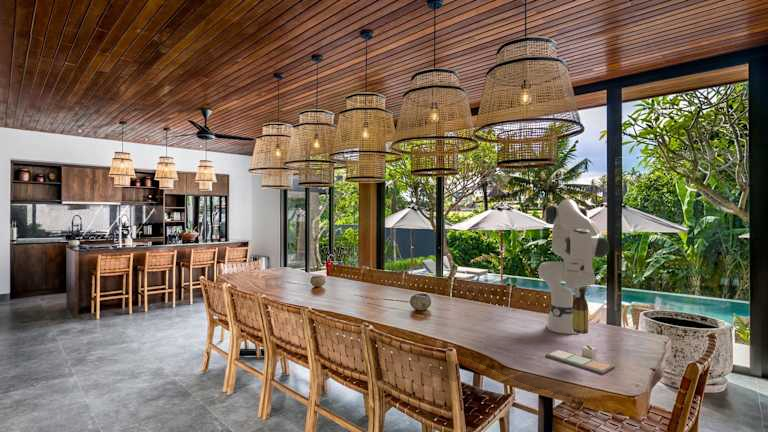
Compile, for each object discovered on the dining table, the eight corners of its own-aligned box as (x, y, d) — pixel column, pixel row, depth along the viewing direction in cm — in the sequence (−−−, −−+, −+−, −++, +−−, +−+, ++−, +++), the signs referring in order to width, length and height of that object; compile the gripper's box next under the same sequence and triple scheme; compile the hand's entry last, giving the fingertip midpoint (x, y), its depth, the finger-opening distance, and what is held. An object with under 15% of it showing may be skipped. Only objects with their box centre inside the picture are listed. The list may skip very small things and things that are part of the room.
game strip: (558, 351, 187) (558, 348, 186) (614, 368, 167) (614, 365, 167) (545, 356, 179) (545, 354, 179) (602, 374, 159) (602, 371, 159)
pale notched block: (586, 355, 182) (586, 344, 182) (596, 357, 179) (596, 347, 179) (581, 357, 180) (582, 346, 180) (591, 360, 176) (592, 349, 176)
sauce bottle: (583, 330, 176) (584, 286, 176) (591, 334, 170) (592, 289, 170) (569, 330, 176) (570, 286, 176) (576, 334, 169) (577, 289, 169)
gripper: (584, 263, 181) (584, 292, 181) (562, 266, 169) (562, 297, 169) (598, 264, 176) (598, 295, 176) (577, 267, 164) (576, 300, 164)
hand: (580, 296), depth 172 cm, fingers closed on sauce bottle, 4 cm apart
